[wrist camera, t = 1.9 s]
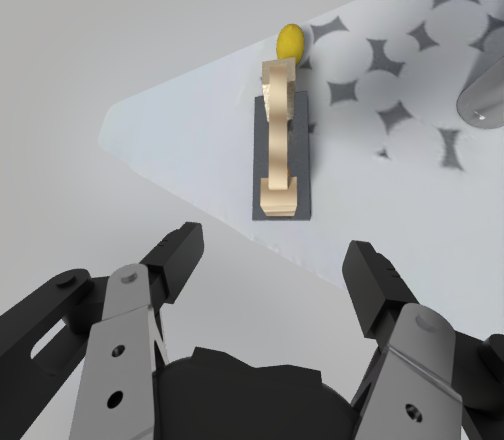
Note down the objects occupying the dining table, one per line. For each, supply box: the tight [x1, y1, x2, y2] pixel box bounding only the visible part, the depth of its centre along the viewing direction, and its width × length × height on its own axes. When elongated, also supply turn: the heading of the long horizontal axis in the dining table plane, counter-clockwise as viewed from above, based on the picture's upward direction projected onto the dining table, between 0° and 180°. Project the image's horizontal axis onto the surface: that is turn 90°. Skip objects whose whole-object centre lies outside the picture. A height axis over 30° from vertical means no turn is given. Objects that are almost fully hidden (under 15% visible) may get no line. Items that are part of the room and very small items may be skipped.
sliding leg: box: [260, 63, 297, 216], centre depth 32 cm, size 20×5×12 cm, turn 179°
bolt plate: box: [252, 57, 310, 221], centre depth 34 cm, size 27×11×12 cm, turn 179°
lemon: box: [276, 24, 304, 66], centre depth 38 cm, size 6×6×8 cm
